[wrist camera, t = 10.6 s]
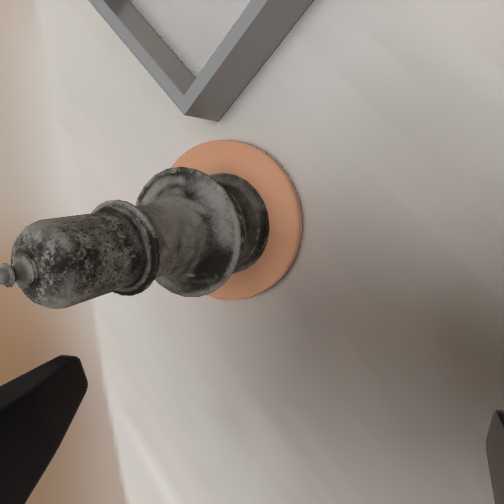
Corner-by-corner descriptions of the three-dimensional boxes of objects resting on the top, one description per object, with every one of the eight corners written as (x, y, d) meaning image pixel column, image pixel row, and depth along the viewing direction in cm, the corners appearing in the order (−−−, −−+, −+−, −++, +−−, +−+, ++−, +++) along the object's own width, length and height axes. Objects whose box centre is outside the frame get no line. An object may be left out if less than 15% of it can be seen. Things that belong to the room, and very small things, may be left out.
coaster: (336, 229, 20) (330, 232, 19) (229, 323, 24) (220, 329, 23) (229, 106, 21) (219, 103, 20) (145, 214, 25) (134, 215, 24)
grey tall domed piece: (176, 166, 22) (-84, 165, 12) (276, 167, 19) (56, 167, 9) (179, 271, 23) (-54, 356, 13) (273, 285, 21) (77, 407, 10)
